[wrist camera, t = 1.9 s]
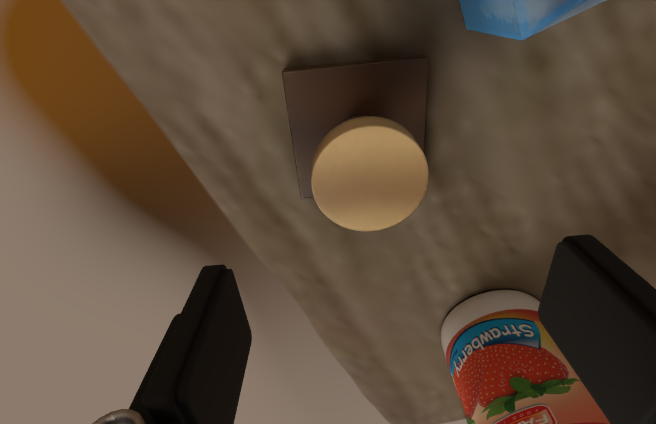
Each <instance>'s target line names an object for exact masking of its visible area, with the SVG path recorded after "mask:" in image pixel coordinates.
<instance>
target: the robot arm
mask: <svg viewBox="0 0 656 424" xmlns="http://www.w3.org/2000/svg"><path fill="white" fill-rule="evenodd" d="M538 317H539V320H540V322H541V323H542V325H543V326H544V328H545V329H546V331H547V332H548V334H549V335H550V337H551V338H552V339H553V341H554V342H555V344H556V345H557V347H558V348H559V350H560V351H561V353H562V354H563V355H564V357H565V358H566V360H567V361H568V363H569V364H570V366H571V367H572V368H573V370H574V371H575V373H576V374H577V376H578V377H579V379H580V380H581V382H582V383H583V384H584V386H585V387H586V389H587V390H588V392H589V393H590V395H591V396H592V398H593V399H594V400H595V402H596V403H597V405H598V406H599V408H600V409H601V411H602V412H603V414H604V415H605V416H606V418H607V419H608V421H609V422H610V424H656V289H655V288H654V287H652V286H651V285H650V284H649V283H648V282H647V281H645V280H644V279H643V278H642V277H641V276H639V275H638V274H637V273H636V272H635V271H634V270H632V269H631V268H630V267H629V266H628V265H626V264H625V263H624V262H623V261H622V260H621V259H619V258H618V257H617V256H616V255H615V254H614V253H612V252H611V251H610V250H609V249H608V248H606V247H605V246H604V245H603V244H602V243H601V242H599V241H598V240H597V239H596V238H595V237H593V236H591V235H577V236H567V237H565V238H564V239H563V240H562V242H559V243H558V244H557V246H556V250H555V253H554V257H553V260H552V264H551V267H550V270H549V274H548V277H547V281H546V284H545V287H544V291H543V294H542V298H541V301H540V304H539V308H538ZM251 337H252V336H251V329H250V326H249V323H248V320H247V316H246V313H245V310H244V306H243V303H242V300H241V297H240V293H239V290H238V287H237V283H236V280H235V277H234V274H233V271H232V269H227V268H226V266H225V265H212V266H205V267H203V268H202V270H201V272H200V274H199V276H198V278H197V280H196V283H195V285H194V287H193V289H192V291H191V293H190V295H189V298H188V300H187V302H186V304H185V306H184V308H183V310H182V312H181V314H177V315H176V316H175V317H174V318H173V320H172V322H171V324H170V326H169V328H168V330H167V332H166V334H165V336H164V338H163V340H162V342H161V344H160V346H159V348H158V350H157V352H156V354H155V357H154V358H153V360H152V362H151V364H150V367H149V369H148V371H147V373H146V375H145V377H144V379H143V381H142V383H141V385H140V387H139V389H138V391H137V393H136V396H135V397H134V400H133V402H132V403H131V405H130V407H129V409H121V410H117V411H113V412H110V413H108V414H106V415H105V416H103V417H101V418H99V419H98V420H96V421H95V422H94V423H92V424H234V419H235V415H236V410H237V405H238V401H239V396H240V392H241V387H242V383H243V378H244V373H245V369H246V365H247V360H248V355H249V351H250V346H251V340H252V338H251Z"/></svg>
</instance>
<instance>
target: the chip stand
mask: <svg viewBox="0 0 656 424" xmlns="http://www.w3.org/2000/svg"><path fill="white" fill-rule="evenodd" d="M428 62H429V57H428V56H426V55H424V54H421V55H411V56H402V57H392V58H382V59H373V60H363V61H353V62H344V63H334V64H324V65H315V66H305V67H295V68H286V69H283V71H282V78H283V84H284V91H285V97H286V104H287V110H288V116H289V123H290V129H291V136H292V142H293V149H294V155H295V162H296V168H297V174H298V181H299V187H300V194H301V198H313V197H314V196H313V192H312V187H311V176H312V164H313V159H314V155H315V152H316V150H317V148H318V146H319V144H320V143H321V141H322V140H323V139H324V137H325V136H326V135H327V134H328V133H329V132H330V131H331V130H333V129H334V128H335V127H337V126H338V125H340V124H342V123H344V122H346V121H348V120H351V119H354V118H358V117H364V116H375V117H382V118H387V119H389V120H392V121H395V122H396V123H398V124H400V125H402V126H403V127H404V128H405V129H407V130H408V131H409V132H410V133H411V134H412V136H413V137H414V139H415V140H416V142H417V143H418V145H419V146H420V148H421V149H422V151H423V153H424V140H425V120H426V101H427V81H428Z"/></svg>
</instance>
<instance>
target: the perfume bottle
mask: <svg viewBox="0 0 656 424" xmlns="http://www.w3.org/2000/svg"><path fill="white" fill-rule="evenodd" d="M459 1H460V5H461V9H462V13H463V17H464V21H465V25H466V29H467V30H472V31H477V32H482V33H487V34H492V35H497V36H502V37H507V38H512V39H516V40H521V41H522V40H524V39H526V38H528V37H530V36H532V35H534V34H537V33H539V32H541V31H543V30H545V29H547V28H549V27H551V26H553V25H555V24H557V23H560V22H562V21H564V20H566V19H568V18H570V17H572V16H574V15H576V14H578V13H580V12H582V11H585V10H587V9H589V8H591V7H593V6H595V5H597V4H599V3H601V2H603V1H605V0H459Z"/></svg>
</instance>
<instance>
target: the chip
mask: <svg viewBox="0 0 656 424" xmlns="http://www.w3.org/2000/svg"><path fill="white" fill-rule="evenodd" d="M428 179H429V169H428V163H427V160H426V157H425V155H424V153H423V151H422V149H421V148H420V146H419V145H418V143H417V142H416V140H415V139H414V137H413V136H412V134H411V133H410V132H409V131H408V130H407V129H405V128H404V127H403V126H402V125H400V124H398V123H396V122H395V121H392V120H389V119H387V118H382V117H375V116H364V117H358V118H354V119H351V120H348V121H346V122H344V123H342V124H340V125H338V126H337V127H335V128H334V129H333V130H331V131H330V132H329V133H328V134H327V135H326V136H325V137H324V139H323V140H322V141H321V143H320V144H319V146H318V148H317V150H316V152H315V155H314V159H313V164H312V176H311V187H312V192H313V196H314V199H315V201H316V203H317V205H318V207H319V208H320V209H321V211H322V212H323V213H324V214H325V215H326V216H327V217H328V218H329V219H331V220H332V221H333V222H335V223H337V224H338V225H341V226H343V227H345V228H348V229H352V230H357V231H375V230H381V229H385V228H388V227H391V226H393V225H395V224H397V223H399V222H401V221H402V220H404V219H405V218H406V217H408V216H409V215H410V214H411V213H412V212H413V211H414V210H415V209H416V208H417V206H418V205H419V204H420V202H421V200H422V199H423V197H424V194H425V192H426V189H427V185H428Z"/></svg>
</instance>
